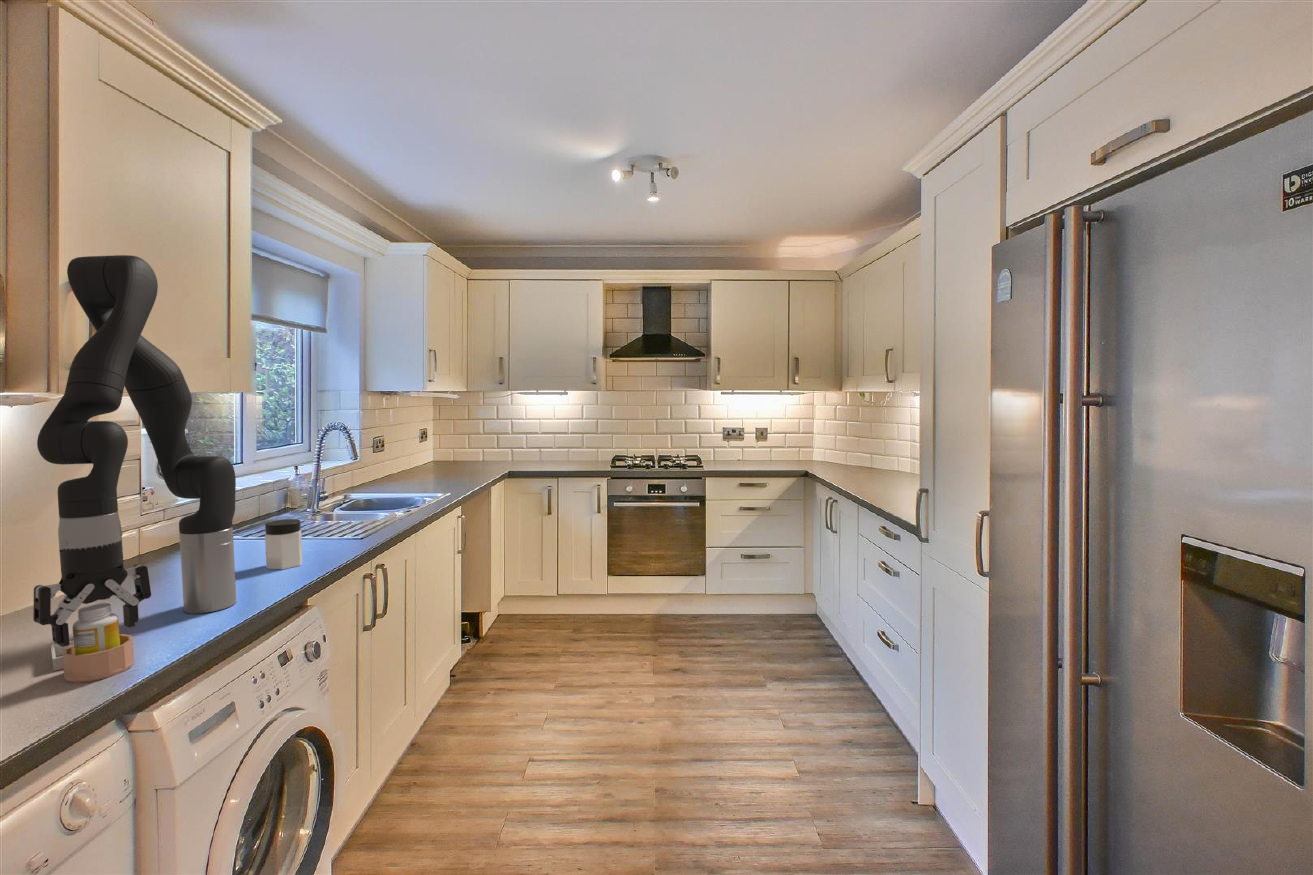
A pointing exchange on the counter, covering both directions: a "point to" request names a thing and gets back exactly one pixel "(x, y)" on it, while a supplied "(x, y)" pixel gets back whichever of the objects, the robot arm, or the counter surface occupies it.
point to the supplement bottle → (95, 629)
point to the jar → (283, 544)
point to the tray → (57, 651)
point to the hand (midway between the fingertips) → (97, 635)
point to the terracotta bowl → (98, 662)
